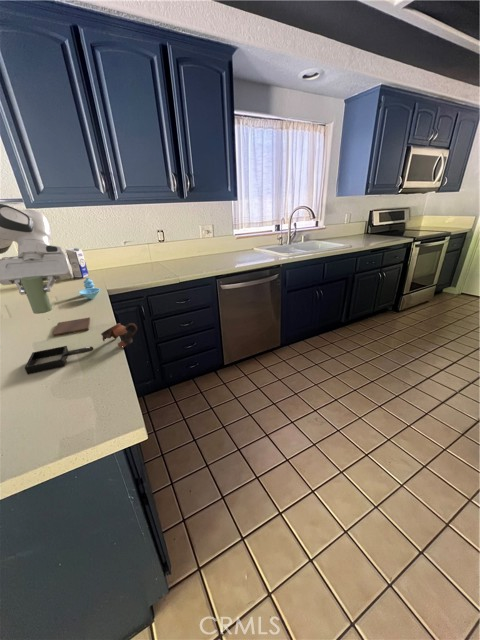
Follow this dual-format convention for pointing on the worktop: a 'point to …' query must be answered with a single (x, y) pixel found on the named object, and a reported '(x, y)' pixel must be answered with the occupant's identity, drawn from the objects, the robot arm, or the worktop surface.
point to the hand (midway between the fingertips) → (35, 292)
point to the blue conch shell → (89, 289)
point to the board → (72, 326)
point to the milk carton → (77, 262)
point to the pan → (50, 365)
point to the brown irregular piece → (121, 333)
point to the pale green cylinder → (36, 294)
